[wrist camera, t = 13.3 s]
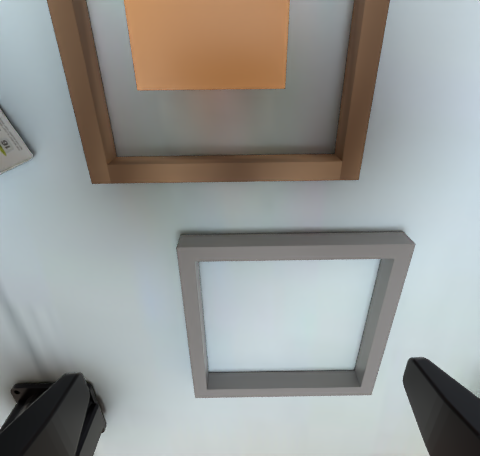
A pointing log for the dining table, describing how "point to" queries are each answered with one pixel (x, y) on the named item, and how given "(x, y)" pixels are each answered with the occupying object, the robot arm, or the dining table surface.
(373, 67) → the frame
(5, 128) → the tea box
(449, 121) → the dining table surface
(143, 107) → the dining table surface
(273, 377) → the gray square frame
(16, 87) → the dining table surface
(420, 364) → the robot arm
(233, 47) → the plug block
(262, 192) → the dining table surface
